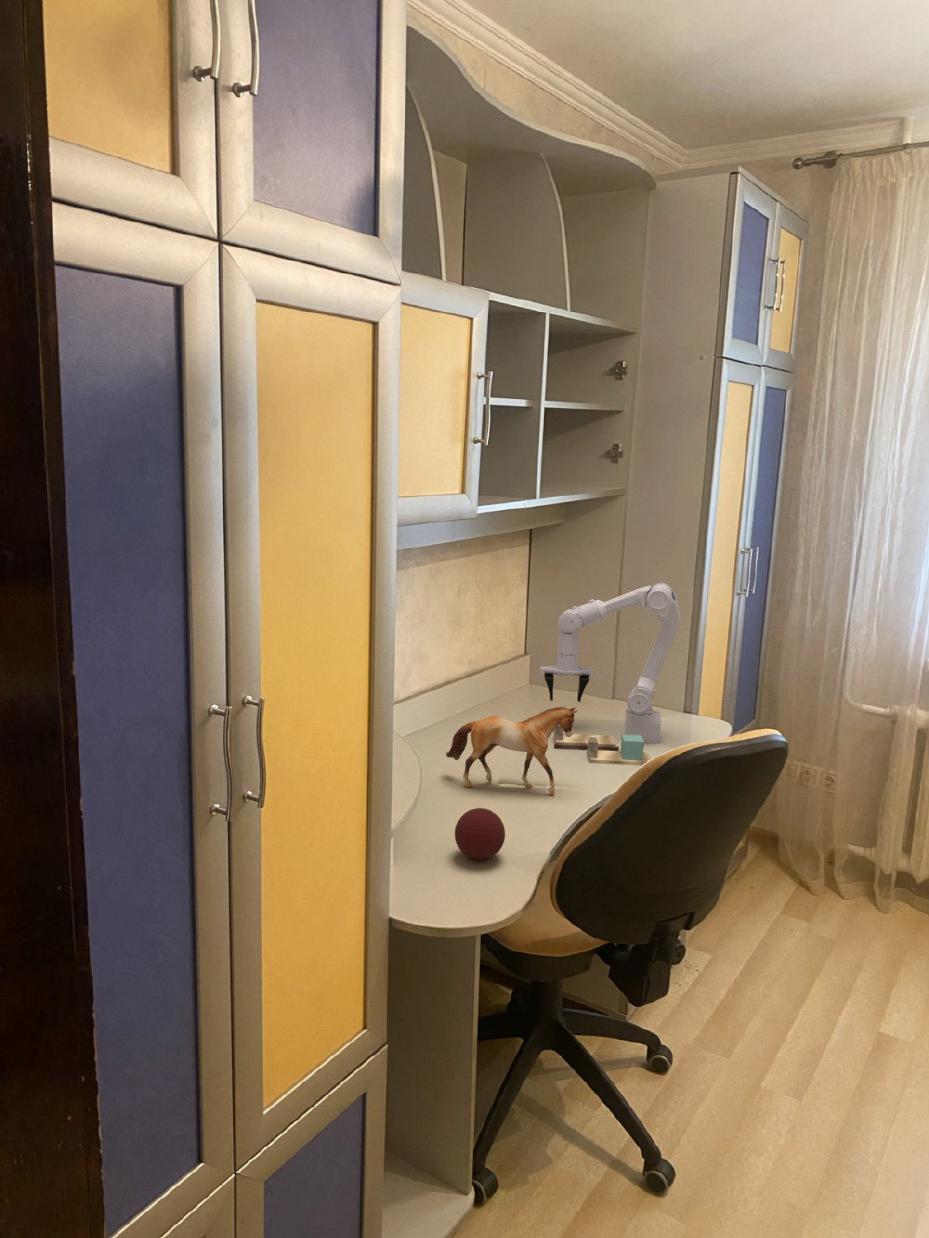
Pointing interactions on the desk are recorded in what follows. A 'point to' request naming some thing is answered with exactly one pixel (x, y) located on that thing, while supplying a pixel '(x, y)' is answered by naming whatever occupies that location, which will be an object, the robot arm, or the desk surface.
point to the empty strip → (581, 738)
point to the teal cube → (632, 747)
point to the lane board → (584, 747)
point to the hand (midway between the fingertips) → (565, 700)
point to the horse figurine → (512, 739)
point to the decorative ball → (479, 833)
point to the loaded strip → (610, 755)
